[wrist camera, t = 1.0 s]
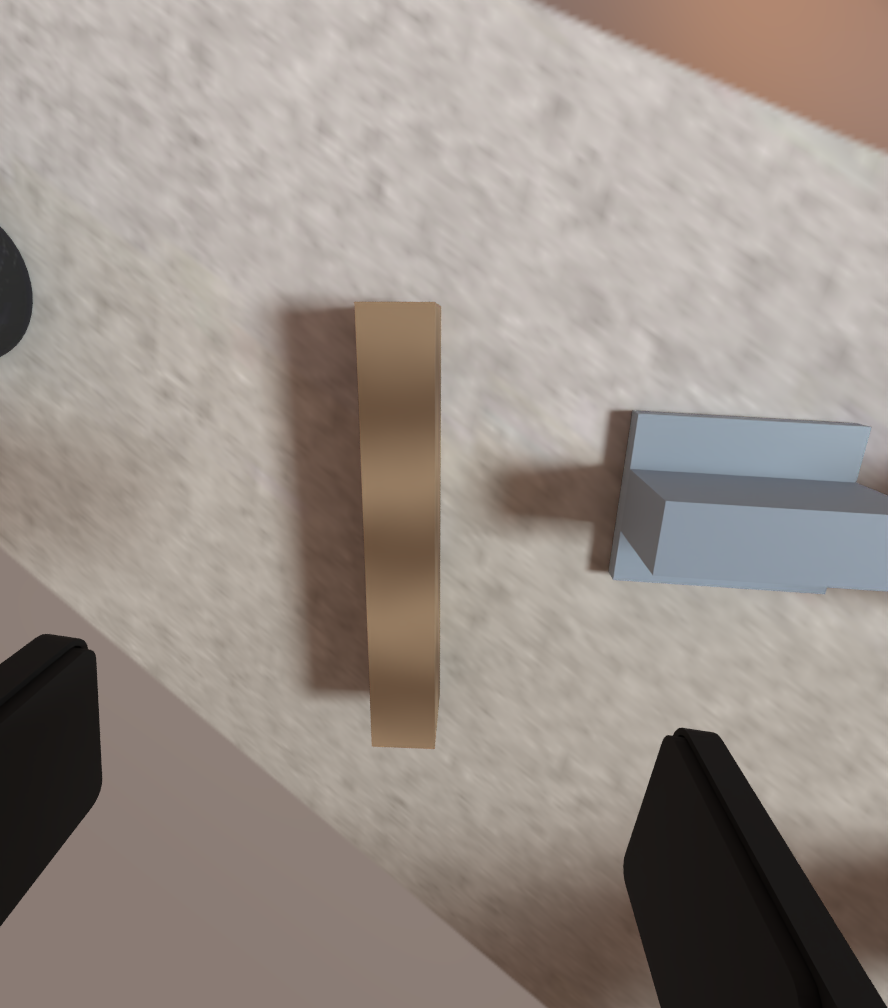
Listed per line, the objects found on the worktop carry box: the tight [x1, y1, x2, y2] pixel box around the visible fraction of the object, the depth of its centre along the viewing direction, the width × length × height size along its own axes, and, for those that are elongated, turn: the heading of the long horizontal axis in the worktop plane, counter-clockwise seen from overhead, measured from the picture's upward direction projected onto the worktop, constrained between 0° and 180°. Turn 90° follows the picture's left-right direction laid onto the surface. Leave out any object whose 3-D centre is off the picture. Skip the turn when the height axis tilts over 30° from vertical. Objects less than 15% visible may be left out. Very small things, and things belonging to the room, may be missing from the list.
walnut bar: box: [354, 302, 441, 749], centre depth 26 cm, size 20×3×4 cm, turn 0°
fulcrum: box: [609, 411, 888, 594], centre depth 24 cm, size 8×10×6 cm
